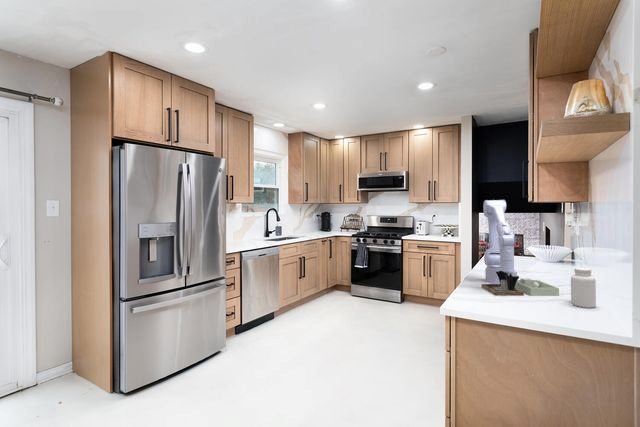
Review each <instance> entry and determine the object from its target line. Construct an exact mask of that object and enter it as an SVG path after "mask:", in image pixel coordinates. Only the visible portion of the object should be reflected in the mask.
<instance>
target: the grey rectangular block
mask: <svg viewBox="0 0 640 427" xmlns="http://www.w3.org/2000/svg"><path fill="white" fill-rule="evenodd" d="M519 280H520V283H522V284H524V285H526V286H529V287H531V288H534V280H535V279H531V278H527V277H525V278H523V277H522V278H521V277H519Z"/></svg>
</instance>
